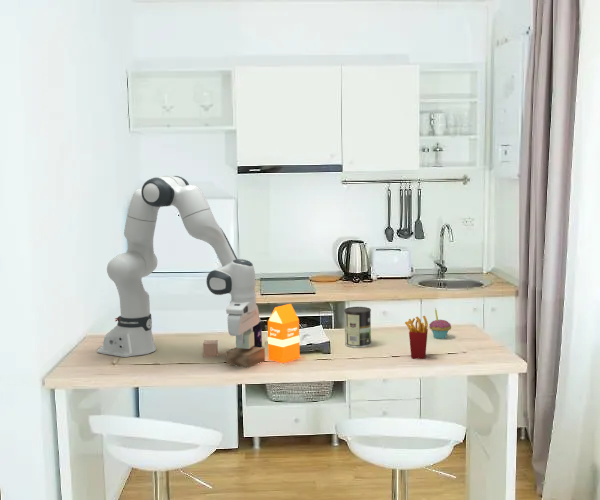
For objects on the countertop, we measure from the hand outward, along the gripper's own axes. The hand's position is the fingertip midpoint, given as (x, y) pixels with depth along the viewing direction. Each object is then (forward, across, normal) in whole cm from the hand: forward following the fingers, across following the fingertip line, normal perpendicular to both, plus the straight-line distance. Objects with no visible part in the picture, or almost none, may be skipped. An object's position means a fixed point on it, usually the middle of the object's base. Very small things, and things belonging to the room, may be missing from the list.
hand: (244, 341), depth 277 cm
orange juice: (+8, -8, +12) cm, 16 cm away
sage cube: (+2, 0, 0) cm, 2 cm away
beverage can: (+8, -18, -4) cm, 20 cm away
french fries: (+8, -24, +58) cm, 63 cm away
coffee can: (+8, -34, +33) cm, 48 cm away
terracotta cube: (+8, -6, -17) cm, 20 cm away
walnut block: (+8, 0, 0) cm, 8 cm away
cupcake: (+8, -53, +62) cm, 82 cm away
